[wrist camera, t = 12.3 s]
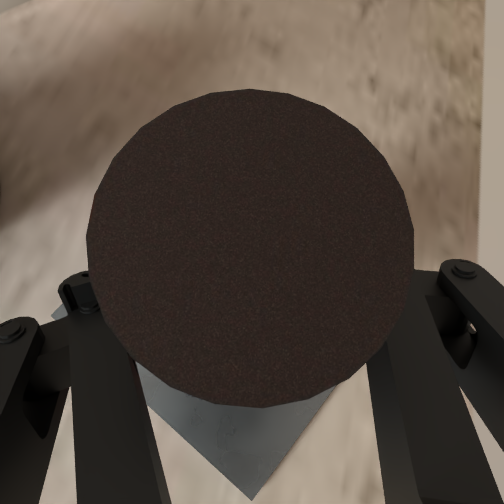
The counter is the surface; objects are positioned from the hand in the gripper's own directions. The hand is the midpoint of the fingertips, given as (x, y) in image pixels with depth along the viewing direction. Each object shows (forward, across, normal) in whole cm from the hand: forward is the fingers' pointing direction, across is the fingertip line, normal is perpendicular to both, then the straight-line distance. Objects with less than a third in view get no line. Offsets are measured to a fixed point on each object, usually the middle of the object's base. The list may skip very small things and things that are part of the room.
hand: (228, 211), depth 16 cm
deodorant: (+1, 0, -7) cm, 7 cm away
